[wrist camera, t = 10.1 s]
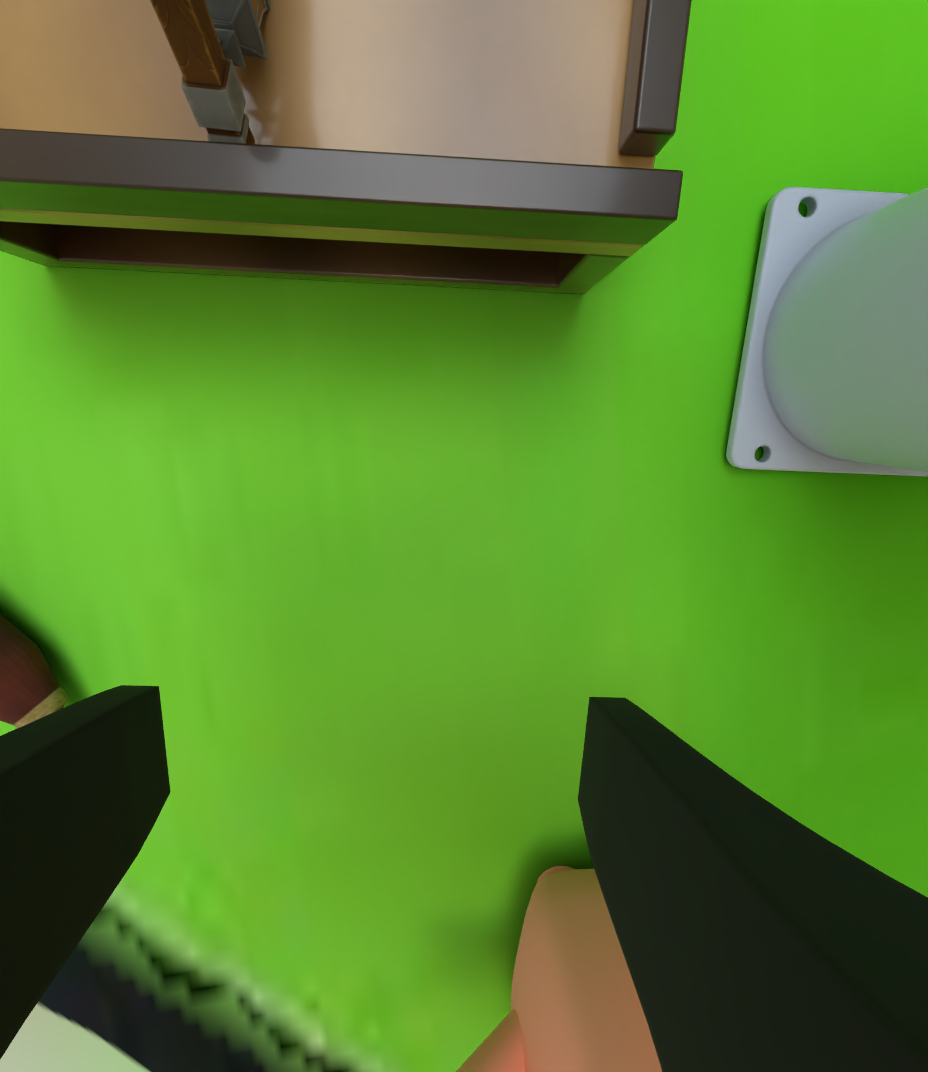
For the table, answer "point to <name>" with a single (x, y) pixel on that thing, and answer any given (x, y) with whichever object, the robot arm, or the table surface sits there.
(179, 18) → the wooden post with brackets
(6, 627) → the gavel
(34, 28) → the shallow wooden tray
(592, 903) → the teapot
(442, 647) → the table surface
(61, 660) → the table surface
